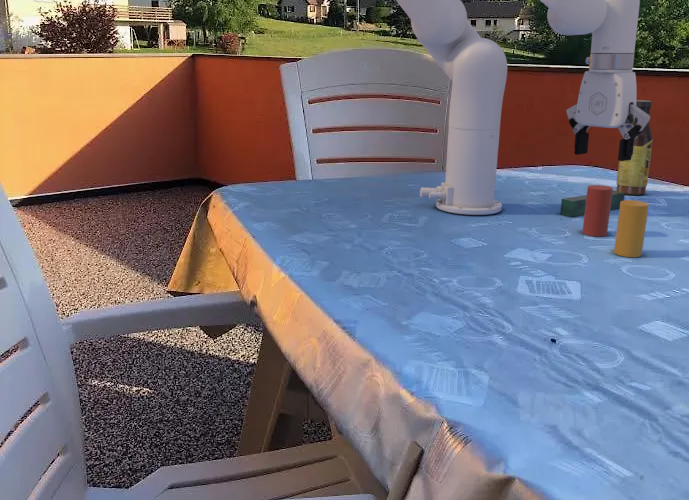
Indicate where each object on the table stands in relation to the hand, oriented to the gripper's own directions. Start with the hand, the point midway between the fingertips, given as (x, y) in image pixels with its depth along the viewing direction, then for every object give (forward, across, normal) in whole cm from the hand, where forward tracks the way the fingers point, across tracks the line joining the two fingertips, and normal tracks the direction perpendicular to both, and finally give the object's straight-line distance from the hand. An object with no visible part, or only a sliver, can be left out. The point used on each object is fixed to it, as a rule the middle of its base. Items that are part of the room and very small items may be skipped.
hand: (602, 157), depth 134 cm
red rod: (+10, +11, -15) cm, 21 cm away
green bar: (+10, 0, -1) cm, 11 cm away
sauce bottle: (+11, -7, +22) cm, 25 cm away
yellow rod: (+10, +21, -21) cm, 32 cm away
